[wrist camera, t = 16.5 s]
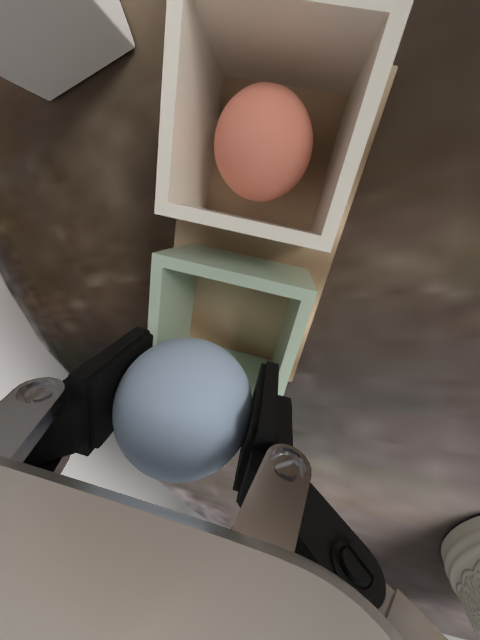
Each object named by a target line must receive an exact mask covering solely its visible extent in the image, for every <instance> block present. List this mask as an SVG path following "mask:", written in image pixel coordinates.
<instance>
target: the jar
mask: <svg viewBox="0 0 480 640" xmlns="http://www.w3.org/2000/svg"><path fill="white" fill-rule="evenodd" d="M441 557H442V560H443V562H444V567H445V572H446V575H447V577H448V579H449V581H450V584H451V586H452V589H453V590H454V592H455V593H456V595H457V596H458V597H459V599H460V601H461V604H462V606H463V608H464V610H465V612H466V615H467V617H468V619H469V621H470V623H471V625H472V628H473V630H474V632H475V634H476V636H477V639H478V640H480V516H477V517H474V518H471V519H469V520H467V521H465V522H463V523H461V524H459V525H458V526H456V527H455V528H454V529H453V530H451V531H450V532H449V533H448V535H447V536H446V537H445V539H444V540H443V542H442V545H441Z"/></svg>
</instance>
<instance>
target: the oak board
mask: <svg viewBox="0 0 480 640" xmlns="http://www.w3.org/2000/svg"><path fill="white" fill-rule="evenodd" d="M397 68H398V66H394V65H392V68H391V71H390V74H389V77H388V80H387V83H386V86H385V89H384V92H383V95H382V98H381V101H380V104H379V107H378V110H377V113H376V116H375V119H374V122H373V125H372V129H371V132H370V135H369V138H368V141H367V144H366V147H365V150H364V153H363V156H362V159H361V162H360V165H359V168H358V171H357V174H356V177H355V180H354V183H353V186H352V189H351V192H350V195H349V198H348V201H347V204H346V207H345V210H344V213H343V216H342V219H341V222H340V225H339V229H338V232H337V235H336V238H335V241H334V244H333V247H332V250H331V253H329V252H324V251H320V250H315V249H311V248H306V247H302V246H297V245H293V244H288V243H284V242H279V241H275V240H270V239H266V238H261V237H257V236H252V235H248V234H243V233H239V232H234V231H230V230H225V229H221V228H216V227H212V226H207V225H203V224H198V223H194V222H189V221H185V220H180V219H176V228H175V239H174V247H178V246H182V245H186V244H191V243H196V244H200V245H205V246H209V247H213V248H218V249H222V250H227V251H231V252H235V253H240V254H244V255H248V256H253V257H257V258H261V259H266V260H270V261H275V262H279V263H283V264H288V265H292V266H296V267H301V268H305V269H308V271H309V273H310V275H311V278H312V280H313V282H314V285H315V287H316V289H317V291H318V292H317V295H316V298H315V301H314V304H313V307H312V310H311V313H310V316H309V319H308V322H307V325H306V328H305V332H304V335H303V338H302V341H301V344H300V347H299V350H298V353H297V356H296V359H295V362H294V365H293V368H292V371H291V374H290V377H289V380H288V381H289V382H292V380H293V377H294V374H295V371H296V368H297V365H298V362H299V359H300V356H301V353H302V350H303V347H304V344H305V341H306V338H307V335H308V332H309V329H310V326H311V323H312V320H313V317H314V314H315V312H316V309H317V306H318V303H319V300H320V297H321V294H322V291H323V288H324V285H325V282H326V279H327V276H328V273H329V270H330V267H331V264H332V261H333V258H334V255H335V252H336V249H337V246H338V243H339V240H340V237H341V234H342V231H343V229H344V226H345V223H346V220H347V217H348V214H349V211H350V208H351V205H352V202H353V199H354V196H355V193H356V190H357V187H358V184H359V181H360V178H361V175H362V172H363V169H364V166H365V163H366V160H367V157H368V154H369V151H370V149H371V146H372V143H373V140H374V137H375V134H376V131H377V128H378V125H379V122H380V119H381V116H382V113H383V110H384V107H385V104H386V101H387V98H388V95H389V92H390V89H391V86H392V83H393V80H394V77H395V74H396V71H397ZM261 82H263V81H257V80H251V79H245V78H239V77H234V76H228V75H224V77H223V84H222V92H221V99H220V107H219V114H218V120H219V118H220V115H221V113H222V111H223V109H224V108H225V106H226V105H227V103H228V102H229V101H230V100H231V99H232V97H233V96H234V95H236V94H237V93H238V92H239V91H241V90H242V89H244V88H245V87H247V86H250V85H252V84H256V83H261ZM280 85H281V84H280ZM282 86H285V87H286V88H288V89H290V90H291V91H292V92H293V93H295V94H296V95H297V96H298V98H299V99H300V100H301V101H302V103H303V104H304V106H305V108H306V109H307V112H308V114H309V117H310V120H311V124H312V130H313V148H312V154H311V158H310V161H309V164H308V167H307V169H306V171H305V173H304V175H303V176H302V178H301V179H300V181H299V182H298V183H297V185H296V186H295V187H294V188H293V189H292V190H290V191H289V192H288V193H286V194H285V195H283V196H282V197H279V198H277V199H274V200H271V201H265V202H257V201H251V200H248V199H245V198H243V197H241V196H240V195H238V194H236V193H235V192H234V191H233V190H232V189H231V188H230V187H229V186H228V185H227V184H226V182H225V181H224V179H223V178H222V176H221V174H220V172H219V169H218V167H217V163H216V159H215V152H213V160H212V167H211V175H210V183H209V190H208V198H207V205H206V208H207V209H212V210H216V211H221V212H226V213H230V214H235V215H240V216H244V217H249V218H253V219H258V220H263V221H267V222H272V223H277V224H281V225H286V226H290V227H295V228H300V229H304V230H309V231H310V228H311V224H312V221H313V217H314V214H315V210H316V207H317V203H318V200H319V196H320V193H321V189H322V186H323V183H324V179H325V176H326V172H327V169H328V165H329V162H330V158H331V155H332V151H333V148H334V144H335V141H336V137H337V134H338V131H339V127H340V124H341V120H342V117H343V113H344V110H345V106H346V103H347V99H348V96H345V95H340V94H334V93H328V92H322V91H316V90H310V89H304V88H298V87H292V86H287V85H282ZM217 123H218V122H217ZM289 300H290V298H288V297H284V296H279V295H275V294H271V293H267V292H263V291H259V290H254V289H250V288H246V287H242V286H238V285H234V284H229V283H225V282H221V281H217V280H213V279H208V278H204V277H200V276H197V281H196V289H195V296H194V304H193V311H192V319H191V327H190V334H189V338H198V339H203V340H207V341H210V342H212V343H214V344H217V345H219V346H220V347H222V348H226V349H230V350H234V351H238V352H242V353H245V354H249V355H253V356H257V357H261V358H264V359H268V360H272V359H273V356H274V352H275V349H276V345H277V342H278V338H279V335H280V332H281V328H282V325H283V321H284V318H285V314H286V311H287V307H288V304H289Z"/></svg>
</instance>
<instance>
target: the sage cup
mask: <svg viewBox="0 0 480 640" xmlns="http://www.w3.org/2000/svg"><path fill="white" fill-rule="evenodd" d="M197 276H200V277H204V278H208V279H213V280H217V281H221V282H225V283H229V284H234V285H238V286H242V287H246V288H250V289H254V290H259V291H263V292H267V293H271V294H275V295H279V296H284V297H288V298H290V300H289V304H288V307H287V311H286V314H285V318H284V321H283V325H282V328H281V332H280V335H279V338H278V342H277V345H276V349H275V352H274V356H273V359H272V360H268V359H264V358H261V357H257V356H253V355H249V354H245V353H242V352H238V351H234V350H230V349H226V348H224V349H225V350H226V351H228V352H229V353H230V354H231V355H232V356H233V357H234V358H235V359H236V360H237V361H238V363H239V364H240V365H241V367H242V368H243V370H244V372H245V374H246V376H247V378H248V381H249V384H250V387H251V392H252V396H253V392H254V389H255V385H256V381H257V377H258V374H259V370H260V366H261V363H264V364H266V362H267V361H269V362H273V363H277V364H279V381H278V395H281V396H283V395H284V392H285V389H286V386H287V383H288V380H289V377H290V374H291V371H292V368H293V365H294V362H295V359H296V356H297V353H298V350H299V347H300V344H301V341H302V338H303V335H304V332H305V328H306V325H307V322H308V319H309V316H310V313H311V310H312V307H313V304H314V301H315V298H316V295H317V292H318V291H317V289H316V287H315V285H314V282H313V280H312V278H311V275H310V273H309V271H308V269H305V268H301V267H296V266H292V265H288V264H283V263H279V262H275V261H270V260H266V259H261V258H257V257H253V256H248V255H244V254H240V253H235V252H231V251H227V250H222V249H218V248H213V247H209V246H205V245H200V244H196V243H191V244H186V245H182V246H178V247H174V248H170V249H166V250H161V251H157V252H153V253H152V261H151V278H150V295H149V312H148V329H147V330H149V331H150V334H152V335H153V346H155V345H157V344H159V343H162V342H165V341H168V340H172V339H177V338H189V334H190V327H191V319H192V311H193V304H194V296H195V289H196V281H197Z"/></svg>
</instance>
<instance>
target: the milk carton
mask: <svg viewBox="0 0 480 640" xmlns="http://www.w3.org/2000/svg"><path fill="white" fill-rule="evenodd" d="M134 47H135V44H134V40H133V37H132V34H131V31H130V29H129V26H128V23H127V20H126V17H125V15H124V12H123V9H122V6H121V3H120V0H0V77H2V78H4V79H6V80H8V81H10V82H12V83H14V84H16V85H18V86H20V87H22V88H24V89H26V90H28V91H30V92H32V93H34V94H36V95H38V96H40V97H42V98H44V99H46V100H48V101H51V100H53V99H54V98H56V97H57V96H59V95H61V94H62V93H64V92H65V91H67V90H69V89H70V88H72V87H73V86H75V85H76V84H78V83H80V82H81V81H83V80H84V79H86V78H88V77H89V76H91V75H92V74H94V73H95V72H97V71H99V70H100V69H102V68H103V67H105V66H107V65H108V64H110V63H111V62H113V61H114V60H116V59H118V58H119V57H121V56H122V55H124V54H125V53H127V52H129V51H130V50H132V49H133V48H134Z"/></svg>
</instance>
